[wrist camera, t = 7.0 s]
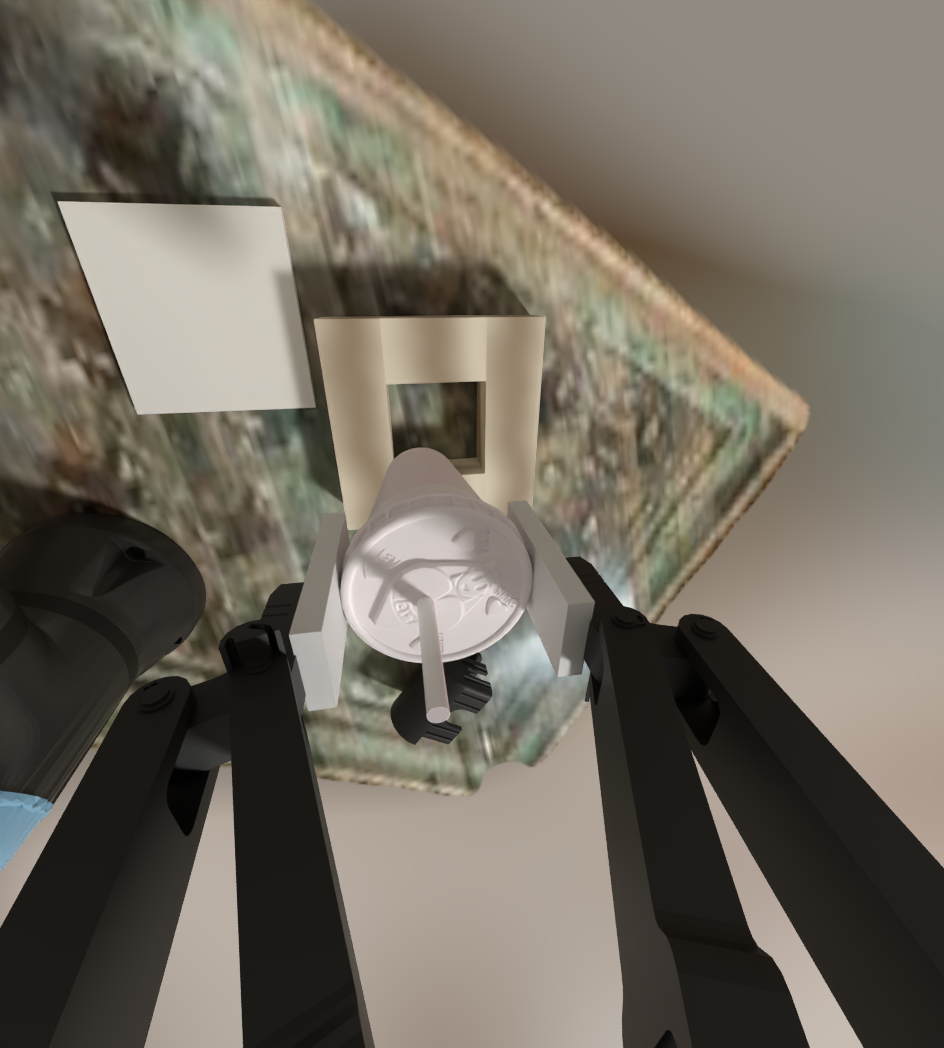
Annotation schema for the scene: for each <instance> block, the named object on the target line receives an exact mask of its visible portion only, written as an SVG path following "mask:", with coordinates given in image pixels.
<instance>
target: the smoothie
mask: <svg viewBox="0 0 944 1048" xmlns="http://www.w3.org/2000/svg"><path fill="white" fill-rule="evenodd" d="M341 579H342V580H341V591H340V594H341V603H342V607H343V611H344V614H345V616H346V618H347V620H348V622H349V624H350V626H351V627H352V629H353V630H354V631H355V632H356V634H357V635H358V636H359V637H360V638H361V639H362V640H363V641H364V642H366V643H367V644H368V645H369V646H371V647H372V648H374V649H376V650H377V651H379V652H381V653H383V654H385V655H388V656H390V657H393V658H396V659H399V660H404V661H408V662H415V663H422V670H423V681H424V692H425V703H426V715H427V719H428V720H429V721H430V722H433V723H440V722H443V721H445V720H447V719H448V718H449V716H450V710H449V703H448V696H447V689H446V682H445V676H444V669H443V662H448V661H453V660H458V659H461V658H465V657H468V656H470V655H473V654H475V653H477V652H480V651H482V650H484V649H485V648H487V647H489V646H491V645H492V644H494V643H495V642H497V641H498V640H499V639H501V638H502V637H503V636H504V635H505V634H506V633H507V632H509V630H510V629H511V628H512V627H513V626H514V625H515V624H516V622H517V621H518V620H519V618H520V617H521V615H522V614H523V612H524V610H525V608H526V606H527V604H528V601H529V599H530V595H531V591H532V585H533V570H532V564H531V560H530V557H529V554H528V552H527V550H526V547H525V542H524V540H523V539H522V537H521V535H520V533H519V532H518V530H517V528H516V526H515V524H514V523H513V522H512V521H511V520H509V519H508V518H507V517H506V516H505V515H504V514H503V513H502V512H501V511H500V510H499V509H498V508H496V507H494V506H492V505H490V504H488V503H486V502H484V501H482V500H481V498H480V497H479V496H478V495H477V494H476V492H475V491H474V490H473V489H472V487H471V486H470V485H469V484H468V483H467V481H466V480H465V479H464V478H463V477H462V475H461V474H460V473H459V472H458V471H457V469H456V468H455V467H454V466H453V465H452V463H451V462H450V461H449V460H448V459H447V458H446V457H445V456H444V455H443V454H441V453H440V452H438V451H436V450H433V449H430V448H413V449H409V450H406V451H404V452H402V453H401V454H399V455H398V456H397V457H396V458H395V459H394V460H393V461H392V462H391V464H390V465H389V467H388V469H387V472H386V475H385V477H384V480H383V482H382V485H381V488H380V490H379V493H378V495H377V498H376V501H375V503H374V506H373V509H372V511H371V514H370V516H369V519H368V521H367V522H366V523H365V524H364V525H363V526H362V527H361V528H360V529H359V530H358V531H357V532H356V534H355V536H354V538H353V539H352V541H351V543H350V545H349V547H348V549H347V550H346V552H345V556H344V561H343V566H342V571H341Z"/></svg>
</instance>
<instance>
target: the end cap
mask: <svg viewBox="0 0 944 1048" xmlns="http://www.w3.org/2000/svg"><path fill="white" fill-rule="evenodd" d="M481 660H482V658H481V654H480V653H478V652H477V653H475V654H473V655H470V656H468V657H465V658H461V659H458V660H453V661H448V662H443V669H444V676H445V682H446V689H447V696H448V703H449V710H450V712H452V711H455V710H459V709H463V710H467V711H470V712H473V713H476V714H477V713H478V712H479V711H480V710H481V709H482V708H483V707H484V706H485V704H486V703H487V702H488V701H489V700H490V699H491V697H492V689H491V685H490V683H489V682H487V681H484V680H481V679H479V678H476V677H475V676H476V675H477V674H478V673H479V674H482V675H484V676H486V675H487V674H488V673H487V669H486V665H485V664H482V663H480V662H481ZM391 720H392V723H393V725H394V728H395V729H396V731H397V732H398V733H399V734H400V736H401V737H403V738H404V739H405V740H406V741H408V742H410V743H412V744H416V743H417V742H418V741H419V740H420V738H421V737H425V738H428V739H432V740H435V741H438V742H442V743H445V744H449V743H450V742H451V741H452V740H453V739H454V738H455V737H456V736H457V735H458V734H459V733H460V731H461V730H462V729H461V726H458V725H455V724H452V723H449V722H447V721H446V720H445V721H443V722H440V723H433V722H430V721H429V720H428V719H427V715H426V703H425V692H424V681H423V670H422V668H421V670H420V671H419V672H418V673H417V675H416V676H415V677H414V678H413V679H412V681H411V682H410V683H409V684H408V686H407V687H406V688H405V689H404V690H403V692H402V693H401V694H400V695H399V697H398V698H397V699H396V700H395V701H394V703H393V705H392V707H391Z"/></svg>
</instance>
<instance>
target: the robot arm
mask: <svg viewBox="0 0 944 1048" xmlns="http://www.w3.org/2000/svg"><path fill="white" fill-rule="evenodd" d="M507 518H508V519H509V520H511V521H512V522H513V523H514V524H515V526H516V528H517V530H518V532H519V533H520V535H521V537H522V539H523V540H524V542H525V547H526V550H527V552H528V554H529V557H530V560H531V564H532V570H533V585H532V591H531V595H530V599H529V601H528V604H527V606H526V607H527V610H528V612H529V614H530V616H531V619H532V621H533V623H534V625H535V628H536V630H537V632H538V634H539V637H540V639H541V641H542V643H543V646H544V648H545V650H546V652H547V655H548V657H549V659H550V661H551V664H552V666H553V668H554V670H555V673H556V675H557V677H564V676H571V675H578V674H582V669H583V664H584V660H585V662H586V664H587V666H588V667H589V669H590V676H589V681H588V687H587V692H586V697H585V701H586V702H589V698H590V701H591V710H592V718H593V728H594V736H595V745H596V754H597V763H598V771H599V780H600V788H601V797H602V806H603V815H604V824H605V832H606V841H607V850H608V859H609V867H610V876H611V885H612V893H613V901H614V911H615V919H616V928H617V936H618V946H619V953H620V954H619V955H620V962H621V972H622V982H623V1012H622V1038H623V1048H810V1047H809V1044H808V1042H807V1039H806V1036H805V1033H804V1030H803V1028H802V1025H801V1022H800V1019H799V1016H798V1013H797V1010H796V1008H795V1005H794V1002H793V999H792V996H791V994H790V991H789V989H788V987H787V984H786V982H785V980H784V977H783V975H782V973H781V971H780V969H779V968H778V966H777V965H776V963H775V962H774V960H773V958H772V957H771V956H769V955H768V954H767V953H766V952H764V951H763V950H762V949H761V948H759V947H758V946H757V944H756V942H755V941H754V939H753V937H752V935H751V932H750V930H749V927H748V925H747V922H746V918H745V915H744V912H743V909H742V906H741V903H740V900H739V897H738V894H737V891H736V888H735V884H734V882H733V878H732V875H731V872H730V869H729V866H728V863H727V860H726V857H725V854H724V851H723V848H722V844H721V842H720V838H719V835H718V832H717V829H716V826H715V823H714V820H713V817H712V814H711V811H710V808H709V804H708V801H707V798H706V795H705V792H704V789H703V786H702V783H701V780H700V777H699V774H698V771H697V767H696V764H695V761H694V759H693V756H692V752H693V754H694V756H695V757H696V759H697V761H698V763H699V764H700V766H701V768H702V769H703V771H704V773H705V775H706V776H707V778H708V780H709V782H710V783H711V785H712V787H713V789H714V790H715V792H716V794H717V795H718V797H719V799H720V801H721V802H722V804H723V806H724V807H725V809H726V811H727V813H728V814H729V816H730V818H731V820H732V821H733V823H734V825H735V826H736V828H737V829H738V832H739V833H740V835H741V837H742V839H743V840H744V842H745V844H746V845H747V847H748V849H749V851H750V852H751V854H752V856H753V857H754V859H755V861H756V863H757V864H758V866H759V868H760V870H761V871H762V873H763V875H764V877H765V878H766V880H767V882H768V883H769V885H770V887H771V888H772V890H773V892H774V894H775V896H776V897H777V899H778V901H779V902H780V904H781V906H782V908H783V909H784V911H785V913H786V914H787V916H788V918H789V920H790V921H791V923H792V925H793V927H794V928H795V930H796V932H797V933H798V935H799V937H800V939H801V940H802V942H803V944H804V946H805V947H806V949H807V951H808V952H809V954H810V956H811V958H812V959H813V961H814V963H815V965H816V966H817V968H818V970H819V971H820V973H821V975H822V977H823V978H824V980H825V982H826V983H827V985H828V987H829V988H830V990H831V992H832V994H833V995H834V997H835V999H836V1001H837V1002H838V1004H839V1006H840V1007H841V1009H842V1011H843V1013H844V1015H845V1016H846V1018H847V1020H848V1021H849V1023H850V1025H851V1027H852V1028H853V1030H854V1032H855V1033H856V1035H857V1037H858V1039H859V1040H860V1042H861V1044H862V1045H863V1047H864V1048H944V868H943V867H942V866H941V865H940V863H939V862H938V861H937V860H936V859H935V858H934V857H933V856H932V855H931V854H930V852H929V851H928V850H927V849H926V848H925V847H924V846H923V845H922V843H921V842H920V841H919V840H918V839H917V838H916V837H915V836H914V835H913V833H912V832H911V831H910V830H909V829H908V828H907V827H906V826H905V825H904V824H903V822H902V821H901V820H900V819H899V818H898V817H897V816H896V815H895V814H894V812H893V811H892V810H891V809H890V808H889V807H888V806H887V805H886V804H885V802H884V801H883V800H882V799H881V798H880V797H879V796H878V795H877V794H876V792H875V791H874V790H873V789H872V788H871V787H870V786H869V785H868V784H867V783H866V781H865V780H864V779H863V778H862V777H861V776H860V775H859V774H858V773H857V772H856V770H855V769H854V768H853V767H852V766H851V765H850V764H849V763H848V761H847V760H846V759H845V758H844V757H843V756H842V755H841V754H840V753H839V752H838V750H837V749H836V748H835V747H834V746H833V745H832V744H831V743H830V742H829V740H828V739H827V738H826V737H825V736H824V735H823V734H822V733H821V732H820V731H819V729H818V728H817V727H816V726H815V725H814V724H813V723H812V722H811V720H810V719H809V718H808V717H807V716H806V715H805V714H804V713H803V712H802V711H801V710H800V708H799V707H798V706H797V705H796V704H795V703H794V702H793V701H792V700H791V698H790V697H789V696H788V695H787V694H786V693H785V692H784V691H783V690H782V688H781V687H780V686H779V685H778V684H777V683H776V682H775V681H774V680H773V678H772V677H771V676H770V675H769V674H768V673H767V672H766V671H765V670H764V668H762V666H761V665H760V664H759V663H758V662H757V661H756V660H755V659H754V657H753V656H752V655H751V654H750V653H749V652H748V651H747V650H746V648H745V647H744V646H743V645H742V644H741V643H740V642H739V641H738V640H737V638H736V637H735V636H734V635H733V634H732V633H731V632H730V631H729V630H728V629H727V628H726V627H725V626H724V625H722V624H721V623H720V622H719V621H717V620H715V619H713V618H711V617H707V616H704V615H699V614H689V615H685V616H683V617H682V618H681V619H680V620H679V624H678V626H677V627H674V626H666V625H658V624H652V623H649V621H648V620H647V618H646V617H645V616H644V615H643V614H641V613H640V612H639V611H637V610H634V609H632V608H629V607H625V606H623V605H622V604H621V602H620V601H619V600H618V598H617V597H616V596H615V594H614V593H613V592H612V591H611V589H610V588H609V587H608V585H607V584H606V583H605V582H604V580H603V579H602V577H601V576H600V575H598V572H597V571H596V569H595V568H594V567H593V566H592V564H591V563H589V562H587V561H586V560H584V559H583V558H581V557H569V558H565V557H564V555H563V554H562V553H561V551H560V550H559V548H558V547H557V545H556V544H555V542H554V541H553V539H552V538H551V536H550V535H549V533H548V532H547V530H546V529H545V527H544V526H543V524H542V523H541V522H540V520H539V519H538V517H537V516H536V514H535V513H534V511H533V510H532V508H531V507H530V505H529V504H528V502H527V501H511V502H508V512H507ZM349 545H350V541H349V535H348V528H347V521H346V514H345V512H344V513H329V514H324V517H323V520H322V524H321V527H320V531H319V534H318V537H317V541H316V544H315V548H314V551H313V554H312V558H311V561H310V565H309V568H308V571H307V575H306V578H305V582H302V583H291V584H281V585H280V586H279V587H278V588H277V589H276V590H275V591H274V592H273V593H272V594H271V595H270V597H269V599H268V602H267V604H266V609H264V612H263V614H262V618H261V619H260V620H256V621H251V622H247V623H244V624H242V625H239V626H237V627H235V628H234V629H232V630H231V631H229V632H228V633H227V634H226V635H225V636H224V637H223V638H222V640H221V641H220V645H219V651H220V654H221V656H222V659H223V662H224V664H225V667H226V670H227V673H225V674H223V675H221V676H219V677H216V678H214V679H211V680H208V681H205V682H202V683H199V684H196V685H193V686H191V685H190V684H189V682H188V681H187V679H185V678H182V677H179V676H171V677H164V678H161V679H157V680H154V681H152V682H150V683H148V684H146V685H144V686H142V687H141V688H139V689H138V690H137V691H135V692H134V693H133V694H132V695H130V696H129V698H128V699H127V700H126V702H125V703H124V704H123V705H122V707H121V709H120V711H119V713H118V714H117V716H116V718H115V720H114V722H113V724H112V725H111V727H110V729H109V731H108V733H107V735H106V736H105V738H104V740H103V742H102V744H101V745H100V747H99V749H98V751H97V753H96V755H95V756H94V758H93V760H92V762H91V764H90V766H89V767H88V769H87V771H86V773H85V775H84V777H83V779H82V780H81V782H80V784H79V786H78V787H77V789H76V791H75V793H74V795H73V796H72V798H71V800H70V802H69V804H68V806H67V808H66V809H65V811H64V813H63V815H62V817H61V819H60V820H59V822H58V824H57V826H56V827H55V829H54V832H53V833H52V835H51V837H50V838H49V840H48V842H47V844H46V846H45V848H44V849H43V851H42V853H41V855H40V857H39V859H38V860H37V862H36V864H35V866H34V868H33V870H32V871H31V873H30V875H29V877H28V879H27V881H26V882H25V884H24V886H23V888H22V890H21V891H20V893H19V895H18V897H17V899H16V901H15V902H14V904H13V906H12V908H11V909H10V911H9V913H8V915H7V917H6V919H5V920H4V922H3V924H2V926H1V928H0V1048H144V1046H145V1042H146V1038H147V1035H148V1031H149V1027H150V1023H151V1020H152V1016H153V1012H154V1008H155V1004H156V1001H157V997H158V994H159V990H160V986H161V983H162V979H163V975H164V972H165V968H166V964H167V960H168V956H169V953H170V949H171V946H172V942H173V938H174V934H175V930H176V927H177V923H178V920H179V916H180V912H181V908H182V904H183V901H184V897H185V893H186V890H187V886H188V883H189V879H190V875H191V871H192V868H193V864H194V860H195V857H196V853H197V849H198V846H199V842H200V838H201V835H202V831H203V827H204V823H205V820H206V815H207V812H208V808H209V805H210V801H211V797H212V794H213V790H214V786H215V782H216V779H217V775H218V771H219V768H220V765H221V764H224V763H226V762H229V761H231V763H232V785H233V786H232V787H233V809H234V810H233V811H234V834H235V835H234V836H235V859H236V884H237V909H238V932H239V955H240V956H239V957H240V981H241V1004H242V1005H241V1006H242V1029H243V1048H375V1046H374V1041H373V1037H372V1032H371V1028H370V1023H369V1019H368V1014H367V1009H366V1005H365V1000H364V996H363V991H362V986H361V982H360V977H359V972H358V967H357V963H356V958H355V953H354V949H353V944H352V940H351V935H350V930H349V926H348V921H347V917H346V912H345V907H344V903H343V898H342V893H341V889H340V884H339V879H338V875H337V870H336V866H335V861H334V856H333V852H332V847H331V842H330V838H329V833H328V828H327V824H326V819H325V815H324V810H323V805H322V801H321V796H320V792H319V787H318V782H317V778H316V773H315V768H314V764H313V759H312V754H311V750H310V745H309V741H308V736H307V731H306V727H305V722H304V719H303V715H302V711H303V706H304V701H305V700H306V704H307V708H308V711H313V710H320V709H327V708H335V707H337V705H338V697H339V689H340V681H341V673H342V665H343V656H344V648H345V640H346V632H347V624H348V620H347V618H346V616H345V614H344V611H343V607H342V603H341V594H340V591H341V580H342V579H341V571H342V566H343V561H344V556H345V552H346V550H347V549H348V547H349ZM205 603H206V590H205V585H204V581H203V578H202V576H201V574H200V572H199V570H198V568H197V567H196V565H195V564H194V562H193V561H192V560H191V558H190V557H189V556H188V555H187V554H186V553H185V552H184V551H183V550H182V549H181V548H180V547H179V546H178V545H177V544H175V543H174V542H173V541H171V540H170V539H169V538H167V537H166V536H164V535H162V534H161V533H159V532H157V531H155V530H154V529H151V528H149V527H147V526H145V525H143V524H140V523H138V522H135V521H132V520H129V519H125V518H122V517H117V516H112V515H107V514H98V513H74V514H66V515H61V516H56V517H53V518H50V519H47V520H45V521H42V522H40V523H38V524H36V525H35V526H33V527H32V528H30V529H28V530H27V531H25V532H24V533H22V534H21V535H19V536H18V537H16V538H14V539H13V540H12V541H11V542H9V543H8V544H7V545H6V546H5V547H4V548H3V549H2V550H1V552H0V871H1V870H2V869H3V868H4V867H5V866H6V865H7V864H8V863H9V861H10V860H11V859H12V857H13V856H14V855H15V853H16V852H17V851H18V849H19V848H20V847H21V845H22V844H23V843H24V841H25V840H26V839H27V837H28V836H29V834H30V833H31V832H32V830H33V829H34V827H36V825H37V824H38V823H39V821H41V820H43V819H44V818H45V817H46V816H47V815H48V814H49V813H50V811H51V809H52V807H53V804H54V803H55V801H56V799H57V798H58V797H59V795H60V794H61V792H62V791H63V789H64V788H65V786H66V784H67V783H68V781H69V780H70V778H71V777H72V775H73V773H74V772H75V771H76V769H77V767H78V766H79V764H80V763H81V761H82V760H83V758H84V757H85V755H86V754H87V752H88V751H89V749H90V748H91V746H92V744H93V743H94V741H95V740H96V738H97V737H98V735H99V734H100V732H101V731H102V729H103V728H104V726H105V725H106V723H107V721H108V720H109V718H110V717H111V715H112V714H113V712H114V711H115V709H116V708H117V706H118V705H119V703H120V701H121V700H122V698H123V697H124V695H125V693H126V692H127V691H128V689H129V688H130V686H131V685H132V683H133V682H134V681H135V679H136V678H138V677H139V676H140V675H142V674H143V673H144V672H146V671H147V670H148V669H150V668H151V667H152V666H154V665H155V664H156V663H157V662H159V661H160V660H161V659H162V658H163V657H164V656H165V655H167V654H169V653H170V652H172V651H173V650H175V649H176V648H177V647H178V646H180V645H181V644H182V643H183V642H184V641H185V640H186V639H187V637H188V636H189V635H190V634H191V632H192V631H193V629H194V627H195V626H196V624H197V622H198V621H199V619H200V617H201V616H202V613H203V611H204V608H205ZM691 751H692V752H691Z"/></svg>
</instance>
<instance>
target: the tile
mask: <svg viewBox="0 0 944 1048" xmlns="http://www.w3.org/2000/svg"><path fill="white" fill-rule="evenodd" d="M57 202H58V204H59V207H60V210H61V212H62V215H63V218H64V220H65V223H66V226H67V228H68V231H69V234H70V236H71V239H72V242H73V244H74V247H75V250H76V252H77V255H78V258H79V260H80V263H81V266H82V268H83V271H84V274H85V276H86V279H87V282H88V284H89V287H90V289H91V292H92V295H93V297H94V300H95V303H96V305H97V308H98V311H99V313H100V316H101V319H102V321H103V324H104V327H105V329H106V332H107V335H108V337H109V340H110V343H111V345H112V348H113V351H114V353H115V356H116V359H117V361H118V364H119V367H120V369H121V372H122V374H123V377H124V380H125V382H126V385H127V388H128V390H129V393H130V396H131V398H132V401H133V404H134V406H135V409H136V412H137V414H161V413H187V412H213V411H239V410H265V409H291V408H316V406H317V403H316V398H315V392H314V386H313V381H312V375H311V369H310V363H309V358H308V352H307V346H306V340H305V335H304V329H303V323H302V317H301V312H300V306H299V300H298V295H297V289H296V283H295V277H294V272H293V266H292V260H291V254H290V249H289V243H288V237H287V232H286V226H285V220H284V214H283V209H282V208H281V207H265V206H225V205H185V204H145V203H105V202H65V201H57Z"/></svg>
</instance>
